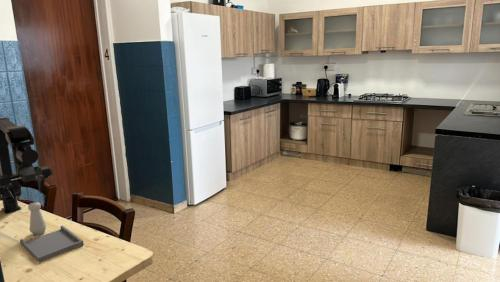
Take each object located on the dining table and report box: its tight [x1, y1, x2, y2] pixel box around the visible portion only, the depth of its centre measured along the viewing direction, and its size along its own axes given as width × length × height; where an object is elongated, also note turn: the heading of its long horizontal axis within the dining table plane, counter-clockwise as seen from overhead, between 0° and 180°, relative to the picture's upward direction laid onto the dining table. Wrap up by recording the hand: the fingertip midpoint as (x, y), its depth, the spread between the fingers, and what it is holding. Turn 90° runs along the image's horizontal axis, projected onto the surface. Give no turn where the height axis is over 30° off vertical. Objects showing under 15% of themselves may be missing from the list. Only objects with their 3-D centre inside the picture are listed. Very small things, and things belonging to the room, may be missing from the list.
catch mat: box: [19, 225, 84, 264], centre depth 139 cm, size 19×16×2 cm
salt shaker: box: [27, 201, 47, 237], centre depth 146 cm, size 6×6×13 cm
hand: (28, 195), depth 148 cm, fingers open, 9 cm apart
